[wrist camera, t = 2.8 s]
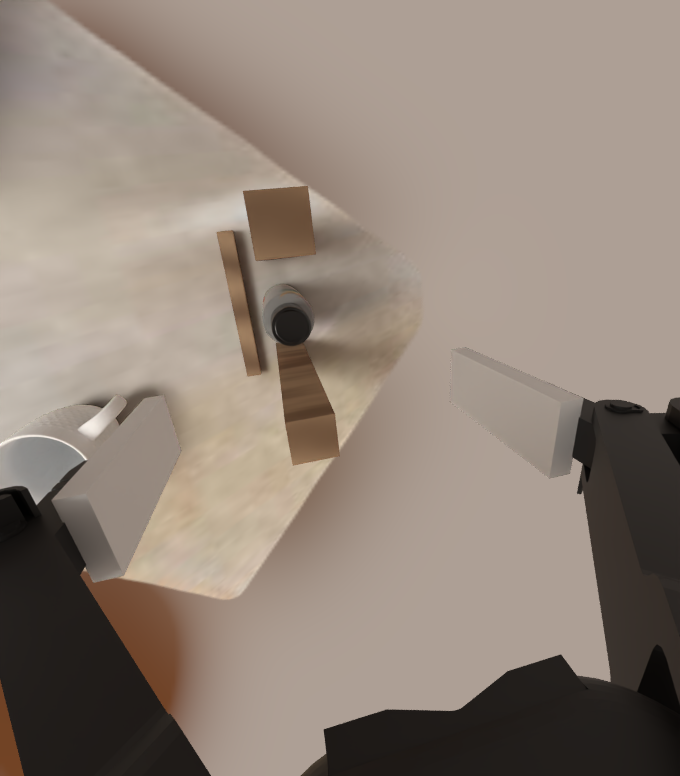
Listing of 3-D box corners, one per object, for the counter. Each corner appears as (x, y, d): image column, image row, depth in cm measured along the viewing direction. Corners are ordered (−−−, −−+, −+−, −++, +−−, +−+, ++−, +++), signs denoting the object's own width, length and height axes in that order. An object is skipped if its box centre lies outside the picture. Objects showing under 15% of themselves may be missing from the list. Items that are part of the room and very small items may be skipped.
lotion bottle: (269, 326, 51) (271, 363, 33) (258, 288, 49) (253, 305, 31) (305, 317, 52) (327, 348, 33) (296, 279, 50) (313, 290, 31)
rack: (218, 233, 46) (156, 197, 20) (285, 226, 47) (307, 186, 21) (248, 372, 53) (231, 477, 27) (305, 363, 54) (339, 456, 29)
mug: (103, 359, 48) (49, 392, 36) (167, 408, 52) (138, 452, 40) (34, 427, 49) (-41, 480, 37) (102, 470, 54) (55, 530, 42)
